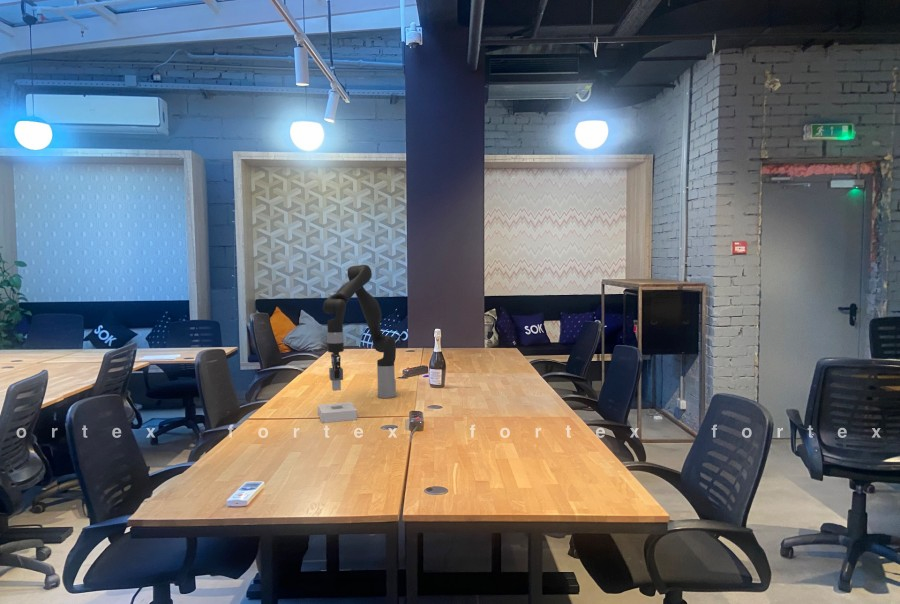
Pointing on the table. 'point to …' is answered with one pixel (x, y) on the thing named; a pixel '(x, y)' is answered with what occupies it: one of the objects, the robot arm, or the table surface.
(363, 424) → the table surface
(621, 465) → the table surface
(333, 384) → the plug
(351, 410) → the socket block
